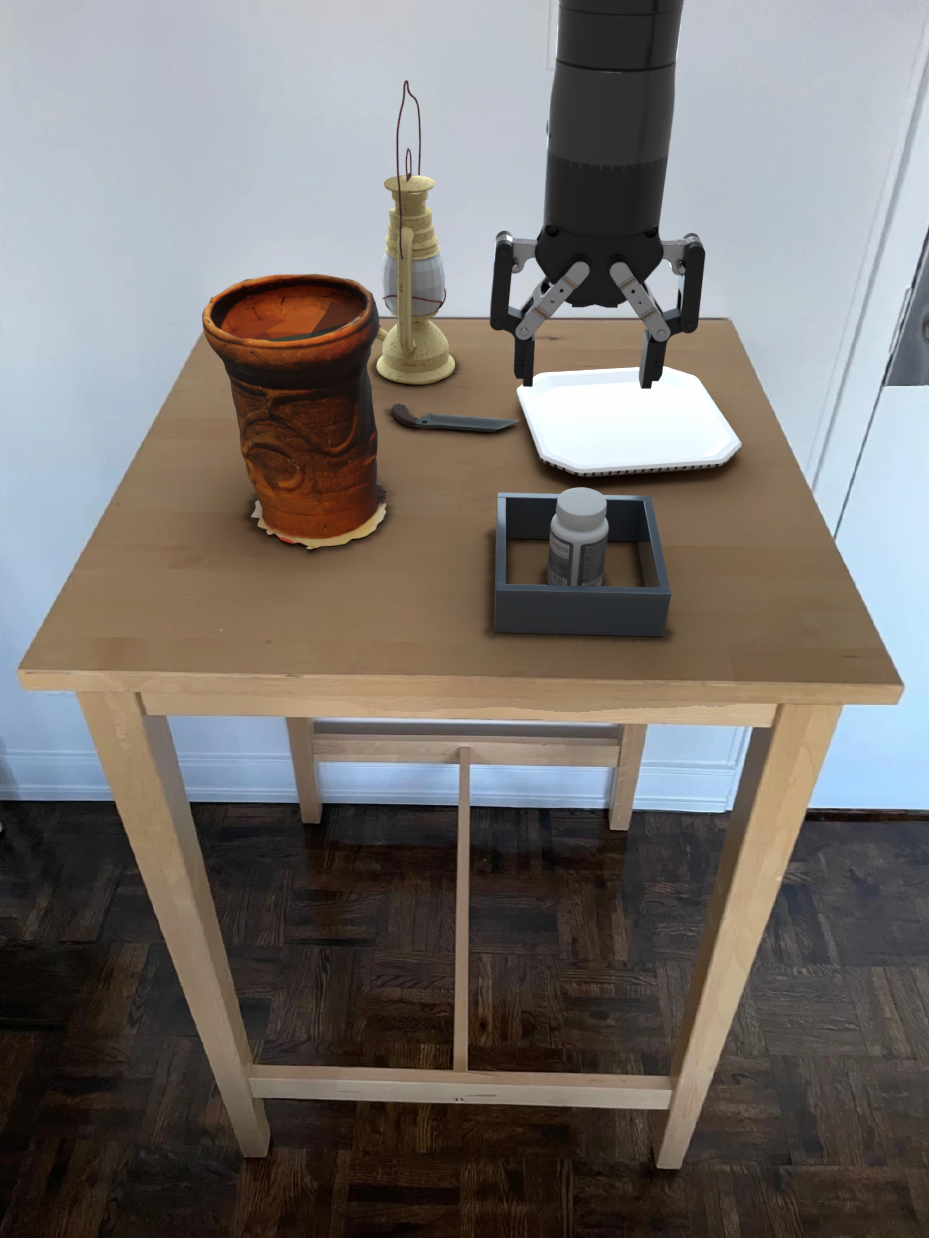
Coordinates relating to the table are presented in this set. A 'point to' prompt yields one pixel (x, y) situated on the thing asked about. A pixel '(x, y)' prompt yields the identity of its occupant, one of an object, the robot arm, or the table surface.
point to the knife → (450, 421)
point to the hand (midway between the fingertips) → (586, 383)
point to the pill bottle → (578, 539)
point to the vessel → (303, 401)
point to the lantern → (412, 282)
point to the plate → (625, 423)
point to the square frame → (581, 604)
